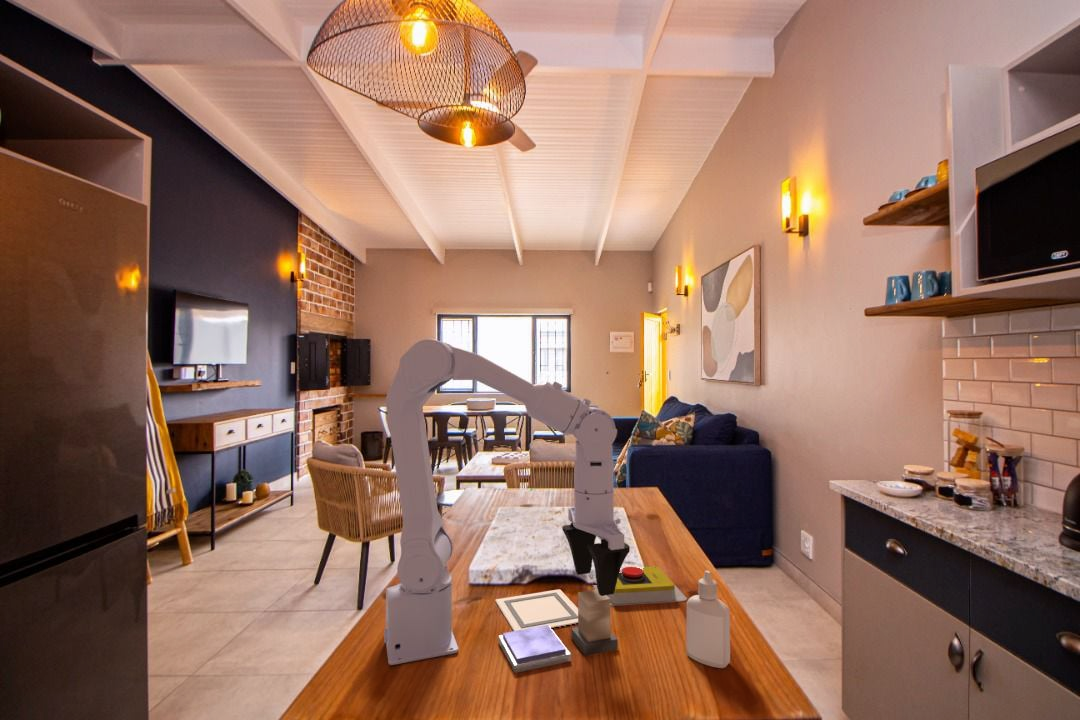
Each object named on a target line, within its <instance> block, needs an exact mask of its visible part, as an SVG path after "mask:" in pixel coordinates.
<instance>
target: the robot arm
mask: <svg viewBox="0 0 1080 720" xmlns="http://www.w3.org/2000/svg"><path fill="white" fill-rule="evenodd" d="M398 362H399V363H398V368H397V370H396V372H395V373H396V374H395V376H394V378H393V380H392V382H391V385H390V387H389V389H388V392H387V394H386V397H385V406H386V413H387V419H388V426H389V433H390V440H391V446H392V454H393V462H394V467H395V468H394V469H395V474H396V481H397V487H398V493H399V501H400V507H401V513H402V528H401V535H400V543H399V544H400V557H399V560H398V563H397V570H396V571H397V576H398V580H399V582H400V583H398V584H396V585H393V586H390V587H389V586H388V587H387V588H386V589H385V628H383V639H384V640H383V643H384V644H385V645H386V655H387V661H388V662H387V663H388V665H389V666H394V665H398V664H399V665H400V664H405V663H410V662H416V661H421V660H426V659H430V658H431V659H432V658H437V657H443V656H447V655H452V654H456V653H458V652H459V646H458V644H457V640H456V637H455V635H454V632H453V630H452V628H453V627H452V622H453V621H452V620H453V619H452V617H453V616H452V613H453V611H452V610H453V609H452V606H453V605H452V604H453V603H452V600H453V599H452V595H453V594H452V592H453V589H452V588H453V587H452V585H453V584H452V583H453V581H452V580H453V579H452V578H453V576H452V574H451V573H450V570H449V569H448V567H447V565H448V562H449V561H450V559H451V558H452V555H453V552H454V545H453V544H454V543H453V539H452V538H451V536H450V534H448V532H447V531H446V528H445V525H444V519H443V517H442V515H441V513H440V511H439V509H438V501H437V495H436V489H435V483H434V481H435V480H434V476H433V470H432V469H433V468H432V463H431V455H430V450H429V449H430V447H429V443H428V442H429V441H428V437H427V436H428V435H427V428H426V423H425V416H424V408H423V407H424V405H425V404H426V403H427V402H428V400H429V399H430V398H431V397H432V396H433V395H434V394H435V392H436V391H437V390H438V389H439V388H441V387H443V386H444V385H445V384H447V383H448V382H450V381H451V380H452V381H476V382H479V383H480V384H483V385H485V386H487V387H489V388H491V389H493V390H495V391H498V392H500V393H501V394H503V395H506V396H508V397H510V398H512V399H515V400H517V401H518V402H521V403H522V404H524V407H525V409H526V413H527V416H528V417H530V418H532V419H534V420H536V421H538V422H540V423H541V424H543V425H545V426H548V427H550V428H552V429H553V430H556V431H557V432H559V433H561V434H564V435H566V436H569V435H573V436H574V438H575V439H576V440H575V455H574V458H573V467H574V469H573V475H574V477H573V481H574V482H573V483H574V484H573V486H574V488H573V493H574V494H573V495H574V496H573V497H574V502H573V503H574V507H568V517H567V518H568V519H567V520H568V521H570V522H571V523H570V524H567V525H563V526H562V527H561V529H562V531H563V533H564V536H565V537H566V540H567V542H568V544H569V548H570V552H571V556H572V561H573V565H574V569H575V573H576V575H578V576H580V575H588V574H591V572H592V571H591V570H592V566H594V567H593V568H594V573H595V583H596V582H597V589H598V593H599V595H600V596H605V595H611V594H614V591H615V587H616V583H617V579H618V575H619V572H620V568H622V565H623V563H624V561H625V560H626V558H627V556H628V555H629V553H630V550H631V549H630V545H629V544H628V543H626V542H625V533H623V532H622V531H621V530H620V528H619V526H618V525H619V524H621V518H620V517H619V516H617V515H614V509H615V507H614V458H613V450H614V448H613V443H614V442H615V440H616V438H617V435H618V429H617V428H616V424H615V421H614V419H613V417H612V416H611V415H610V414H609V413H608V412H607V411H605V410H603V409H602V408H599V406H598V405H593V404H591V402H592V401H591V400H589V398H586V397H584V398H583V399H582V398H580V397H578V396H576V395H574V394H572V393H571V392H568V391H566V390H564V389H562V387H563V384H561V383H559V382H557V381H553V383H551V382H549V381H547V380H545V381H542V382H539V383H536V384H533V383H532V382H530V381H528V380H526V379H524V378H522V377H520V376H518V375H516V374H515V373H513V372H511V371H509V370H508V369H505V368H504V367H502V366H501V365H498V364H497V363H495V362H493V361H491V360H489V359H487V358H486V357H484V356H482V355H480V354H477V353H475V352H472V351H469V350H465V349H463V348H460V347H455V346H453V345H451V344H450V343H448V342H442V341H439V340H437V339H435V338H434V339H433V338H426V339H421V340H418V341H417V342H415V343H414V344H413V345H412V346H410V348H409V349H408V350H407V351H405V353H404V354H403V355H402V356H401V357H400V359H399V361H398ZM596 538H598V539H600V542H598V543H595V542H596Z"/></svg>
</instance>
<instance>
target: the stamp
mask: <svg viewBox="0 0 1080 720" xmlns="http://www.w3.org/2000/svg"><path fill="white" fill-rule="evenodd" d="M577 608H578V624H577V627H572V628H571V630H570V632H571V634H570V635H571V636H570V637H571V638H572V639H573V640H574V641H573V640H572V639H571V640H572V641H573V642H574V643H575V645H576V644H577V645H578V646H577V645H576V646H577V647H578V649H579V650H580V649H581V650H580V651H581V652H582V653H583V655H584V656H585V657H589V656H593V655H597V654H603V653H608V652H610V651H611V652H613V651H617V650H618V649H619V648H618V645H619V643H618V638H617V637H616V636H615V635H614V634H613V633H612V632H611V606H610V598H609V597H608V596H607V595H605V596H600V595H599V593H598V589H597V590H595V589H593V590H586V591H579V592H577Z"/></svg>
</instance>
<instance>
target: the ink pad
mask: <svg viewBox="0 0 1080 720" xmlns="http://www.w3.org/2000/svg"><path fill="white" fill-rule="evenodd" d="M498 644H499V647H500V648H501V650H502V652H503V654H504V655H505V657H506V659H507V661H508V663H509V665H510V667H511V669H512V671H513V672H514V674H518V673H522V672H526V671H531V670H532V671H533V670H536V669H540V668H546V667H549V666H550V667H551V666H556V665H558V664H559V665H560V664H564V662H565V663H569V662H571V661H572V659H571V657H572V654H571V652H570V651H569V650H568V648H567V647H566V646H565V644H564V643H563V642H562V640H561V639H560V638H559V637H558V635H557V634H556V633H555V631H554V630H553V629H551V627H550V626H548V625H545V626H539V627H534V628H529V629H523V630H518V631H513V630H512V631H508V632H503V633H502V634H500V635H498Z"/></svg>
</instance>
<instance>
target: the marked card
mask: <svg viewBox="0 0 1080 720" xmlns="http://www.w3.org/2000/svg"><path fill="white" fill-rule="evenodd" d="M495 603H496V605H497V607H498V608H499V610H500V611H501V613H502V614H503V617H504V618H505V620H506V621H507V623H508V624H509V626H510V628H511V630H512V631H518V630H523V629H529V628H534V627H539V626H545V625H548V626H550V627H551V628H554V627H559V628H562V627H561V626H564V627H567V626H566V625H570V626H573V625H572V624H575V625H577V624H576V623H578V606H576V604H574V602H573V601H572V600H570V598H569V597H568V596H567V595H566V594H565V593H564V592H563V591H562V590H561V589H560V588H559V589H553V590H546V591H541V592H534V593H529V594H521V595H516V596H515V595H514V596H508V597H502V598H496V599H495ZM554 629H555V628H554Z"/></svg>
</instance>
